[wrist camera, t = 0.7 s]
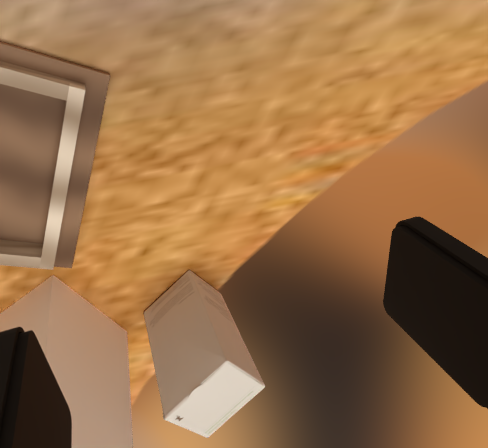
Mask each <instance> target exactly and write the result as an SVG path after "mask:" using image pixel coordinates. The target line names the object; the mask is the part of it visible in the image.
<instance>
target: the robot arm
mask: <svg viewBox="0 0 488 448" xmlns="http://www.w3.org/2000/svg"><path fill="white" fill-rule="evenodd" d="M383 304H384V308H385V310H386V312H387V313H388V315H389V316H391V318H392V319H393V320H394V321H395V322H396V323H397V324H398V325H399V326H400V327H402V329H403V330H404V331H405V332H407V334H408V335H409V336H410V337H411V338H412V339H413V340H415V342H416V343H417V344H418V345H419V346H420V347H422V349H423V350H425V352H427V354H428V355H429V356H430V357H431V358H432V359H434V361H436V363H438V365H440V367H441V368H443V370H444V371H445V372H446V373H447V374H448V375H450V377H452V379H453V380H455V382H456V383H458V385H459V386H461V387H462V389H463V390H464V391H465V392H466V393H468V395H470V397H471V398H473V399H474V400H475V402H477V403H478V404H479V405H481V406H482V407H487V408H488V258H487V257H485V256H483V255H482V254H480V253H478V252H477V251H475V250H474V249H472V248H470V247H469V246H467V245H466V244H464V243H462V242H461V241H459V240H457V239H456V238H454V237H453V236H451V235H449V234H448V233H446V232H445V231H443V230H441V229H440V228H438V227H436V226H435V225H433V224H432V223H430V222H428V221H427V220H425V219H423V218H421V217H413V218H410V219H406V220H403V221H400V222H398V223H397V225H396V227H395V229H393V231H392V236H391V245H390V252H389V260H388V268H387V276H386V284H385V293H384V300H383ZM71 447H72V419H71V413H70V409H69V406H68V404H67V402H66V400H65V398H64V395H63V393H62V391H61V389H60V387H59V385H58V383H57V380H56V378H55V376H54V374H53V372H52V370H51V367H50V365H49V363H48V361H47V359H46V357H45V354H44V352H43V350H42V348H41V346H40V344H39V341H38V339H37V337H36V335H35V333H34V332H33V331H32V330H30V331H27V332H25V331H24V330H23V328H22V327H16V328H13V329H9V330H5V331H2V332H0V448H71Z"/></svg>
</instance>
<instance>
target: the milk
mask: <svg viewBox="0 0 488 448" xmlns="http://www.w3.org/2000/svg"><path fill="white" fill-rule="evenodd" d="M16 327H22V328H23V330H24V331H25V332H27V331H30V330H32V331H33V332H34V333H35V335H36V337H37V339H38V341H39V344H40V346H41V348H42V350H43V352H44V354H45V357H46V359H47V361H48V363H49V365H50V367H51V370H52V372H53V374H54V376H55V378H56V380H57V383H58V385H59V387H60V389H61V391H62V393H63V395H64V398H65V400H66V402H67V404H68V406H69V409H70V413H71V419H72V447H71V448H133V439H132V418H131V398H130V379H129V359H128V339H127V331H126V330H124V329H123V328H122V327H121V326H119V325H118V324H117V323H115V322H114V321H113V320H111V319H110V318H109V317H107V316H106V315H105V314H104V313H102V312H101V311H100V310H98V309H97V308H96V307H94V306H93V305H92V304H90V303H89V302H88V301H87V300H85V299H84V298H83V297H81V296H80V295H79V294H77V293H76V292H75V291H73V290H72V289H71V288H70V287H68V286H67V285H66V284H64V283H63V282H62V281H60V280H59V279H58V278H57V277H55V276H54V275H52V276H51V277H49V278H48V279H47V280H45V281H44V282H43V283H41V284H40V285H38V286H37V287H36V288H34V289H33V290H32V291H30V292H29V293H28V294H26V295H25V296H24V297H22V298H21V299H19V300H18V301H17V302H15V303H14V304H13V305H11V306H10V307H9V308H7V309H6V310H5V311H3V312H2V313H0V332H2V331H5V330H9V329H13V328H16Z"/></svg>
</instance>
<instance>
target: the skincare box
mask: <svg viewBox="0 0 488 448" xmlns="http://www.w3.org/2000/svg"><path fill="white" fill-rule="evenodd" d="M144 317H145V322H146V327H147V332H148V337H149V342H150V347H151V352H152V357H153V362H154V367H155V372H156V377H157V382H158V387H159V392H160V397H161V403H162V408H163V418H164V420H167V421H169V422H171V423H174V424H176V425H179V426H181V427H183V428H186V429H188V430H191V431H193V432H195V433H197V434H199V435H202V436H204V437H207V438H208V437H209V436H210V435H211V434H213V433H214V432H215V431H216V430H217V429H218V428H219V427H220V426H222V425H223V424H224V423H225V422H226V421H227V420H228V419H229V418H230V417H232V416H233V415H234V414H235V413H236V412H237V411H238V410H239V409H240V408H241V407H243V406H244V405H245V404H246V403H247V402H248V401H249V400H251V399H252V398H253V397H254V396H255V395H256V394H258V393H259V392H260V391H261V390H262V389H263V388H264V387H265V385H264V384H263V381H262V379H261V377H260V375H259V373H258V371H257V368H256V366H255V364H254V362H253V360H252V358H251V356H250V354H249V352H248V350H247V348H246V345H245V343H244V342H243V339H242V337H241V335H240V333H239V331H238V329H237V327H236V324H235V322H234V320H233V318H232V316H231V314H230V312H229V310H228V308H227V305H226V304H225V301H224V299H223V297H222V295H221V293H219V292H218V291H217V290H216V289H214V288H213V287H212V286H210V285H209V284H208V283H206V282H205V281H204V280H202V279H201V278H200V277H198V276H197V275H196V274H194V273H193V272H192V271H191V270H188V271H187V272H186V273H185V274H184V275H183V276H182V277H181V278H180V279H179V280H178V281H177V282H176V283H174V284H173V285H172V286H171V287H170V288H169V289H168V290H167V291H166V292H165V293H164V294H163V295H162V296H160V297H159V298H158V299H157V300H156V301H155V302H154V303H153V304H152V305H151V306H150V307H149V308H148V309H147V310H146V311H145V312H144Z"/></svg>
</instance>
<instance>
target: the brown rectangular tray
mask: <svg viewBox="0 0 488 448" xmlns="http://www.w3.org/2000/svg"><path fill="white" fill-rule="evenodd" d="M109 79H110V74H109V73H105V72H102V71H99V70H95V69H92V68H89V67H85V66H82V65H79V64H75V63H72V62H68V61H65V60H62V59H58V58H55V57H52V56H48V55H45V54H42V53H38V52H35V51H32V50H28V49H25V48H21V47H18V46H15V45H11V44H8V43H5V42H1V41H0V265H7V266H18V267H29V268H41V269H52V270H53V268H54V267H65V268H72V264H73V259H74V254H75V249H76V244H77V239H78V234H79V229H80V224H81V219H82V214H83V209H84V204H85V199H86V194H87V189H88V184H89V179H90V174H91V169H92V164H93V159H94V154H95V149H96V144H97V139H98V134H99V129H100V124H101V119H102V114H103V109H104V104H105V99H106V94H107V89H108V84H109Z"/></svg>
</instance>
